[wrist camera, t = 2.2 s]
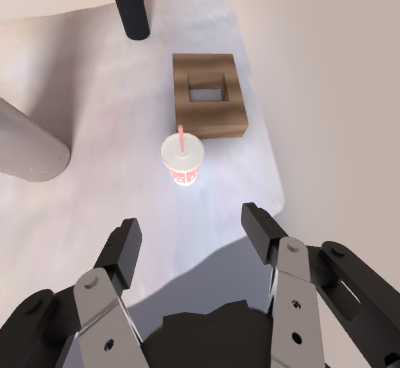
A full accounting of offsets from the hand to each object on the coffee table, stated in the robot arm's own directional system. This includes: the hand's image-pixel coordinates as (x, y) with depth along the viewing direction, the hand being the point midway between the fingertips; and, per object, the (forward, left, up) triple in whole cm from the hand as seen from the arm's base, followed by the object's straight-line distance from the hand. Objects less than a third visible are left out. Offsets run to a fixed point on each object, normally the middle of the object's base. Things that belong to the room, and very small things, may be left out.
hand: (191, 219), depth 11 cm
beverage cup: (-6, +8, -16) cm, 19 cm away
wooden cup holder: (-12, +26, -16) cm, 33 cm away
